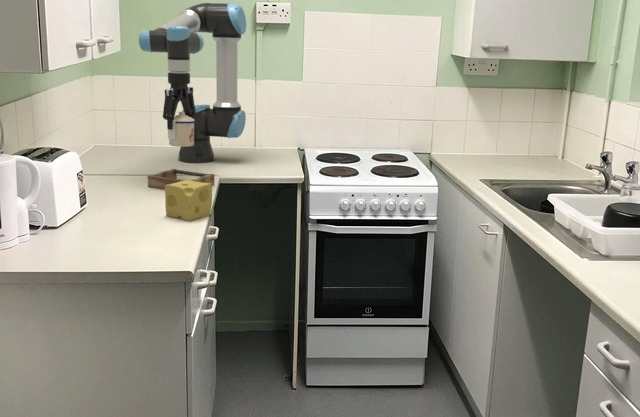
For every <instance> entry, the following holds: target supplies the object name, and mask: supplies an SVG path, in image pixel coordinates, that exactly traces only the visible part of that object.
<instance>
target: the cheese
mask: <svg viewBox="0 0 640 417" xmlns="http://www.w3.org/2000/svg"><path fill="white" fill-rule="evenodd" d="M183 180H184V181H180V182H177V183H173V184H168V185H165V190H164V192H165V193H164V194H165V196H164V197H165V201H164V202H165V205H164V206H165V216H167V217H171V218H178V219H179V218H181V220H183V219H184V221H187V222H191V221H195V220H196V219H200V218H203V217H209V216H210V215H211V212H212V205H213V186H212V185H211V183H201V182H195V181H190V179H189V180H188V179H183Z"/></svg>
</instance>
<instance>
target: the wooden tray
mask: <svg viewBox="0 0 640 417" xmlns="http://www.w3.org/2000/svg"><path fill="white" fill-rule="evenodd" d="M177 174H179V175H187V176H192V177H197V178H193V179H191V180H190V179H189V180H190V181H195V182H201V183H211V185H212V187H213V186H215V174H214V173H205V172H204V173H203V172H196V171H189V170H181V169H177V168H172V169H171V168H169V169H168V170H164V171H161V172H158V173H153V174H150V175H148V176H147V187H148V188H151V189H159V190H163V191H165V185H168V184H173V183H177V182H180V181H184V180H185V179H178V178H177Z"/></svg>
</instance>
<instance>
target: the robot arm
mask: <svg viewBox="0 0 640 417" xmlns="http://www.w3.org/2000/svg"><path fill="white" fill-rule="evenodd" d="M246 31H247V18H246V13H245V12H244V9H243V7H242V6H241V5H240V4H238V3H237V4H236V3H229V2H228V3H224V2H223V3H216V2H211V3H209V2H203V3H197V4H194V5H192V6H189V7H187V8H185V9H183V10H182V11H180V12H179V14H178V15H177V17H175V18H172V19H171V20H169V21H168V22H166V23H165V24H163V25H161V26H159V27H157V28H155V29H153V30H152V29H147V30H145V29H144V30H142V31H141V32H140V33H139V35H138V44H139V48H140V50H141V51H143V52H149V53H167V71H169V72H168V73H167V82H168V84H170V88H169V89H168V88H167V89H164V102H163V113H162V118H163V119H164V120H166V123H167V124H166V126H167V139H168V140H169V139H176V125H175V120H174V117H175V116H176V111H177V108H178V104H179V103H180V102H181V106H182V111H181V112H184V113H185V115H187V116H188V117H190V118H192V119H194V120H195V122H194V145H193V146H188V147H180V149H179V152H178V161H180V162H184V163H191V164H194V163H195V164H196V163H199V164H200V163H208V162H209V163H210V162H213V161H214V160H215V153H214V149H213V147H212V144H211V137H214V138H215V137H216V138H227V139H234V138H235V139H236V138H239V137H241V135H242V134H243V132H244V129H245V126H246V122H247V121H246V120H247V118H246V117H247V116H246V112H245V110H243V109H242V104H240V103H239V102H238V43H239V41H241V39H242V35H244V34H245V33H246ZM200 33H210V34H212V35H211V36H212V39H213V40H214V41H215V42H216V43H215V51H216V52H215V53H216V54H215V55H216V57H215V58H216V60H215V62H216V63H215V64H216V67H215V68H216V69H215V71H216V79H215V80H216V83H215V84H216V101H215V102H214V103H213V104H212V108H211V106H210V105H209V104H195V98H194V87H192V86H191V87H190V86H188V85H189V84H190V83H191V73H189V72H190V71H191V59H190V58H191V56H190V55H191V54H193V55H195V54H197V53H200V52H201V51H202V49H203V48H204V44H205V42H204V38H203V36H202V35H201V34H200Z"/></svg>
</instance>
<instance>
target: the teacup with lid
mask: <svg viewBox="0 0 640 417" xmlns="http://www.w3.org/2000/svg"><path fill="white" fill-rule="evenodd" d="M174 120H175V125H176V139H169V138H168V144H169V146H172V147H178V148H179V147H180V148H181V147H188V146H193V145H194V122H195V120H194V119H192V118H190V117H188V116H187V115H185V113H184V112H182V111H179V112H178V114H175V116H174Z"/></svg>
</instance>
